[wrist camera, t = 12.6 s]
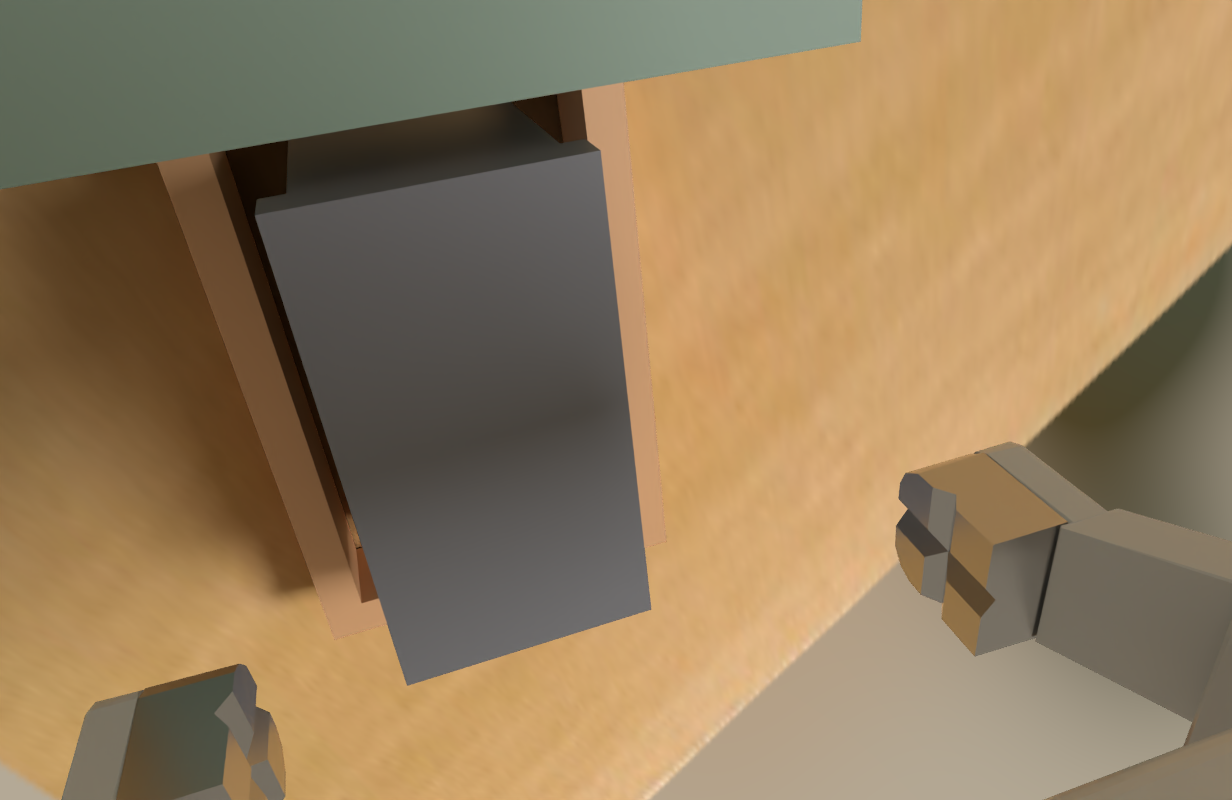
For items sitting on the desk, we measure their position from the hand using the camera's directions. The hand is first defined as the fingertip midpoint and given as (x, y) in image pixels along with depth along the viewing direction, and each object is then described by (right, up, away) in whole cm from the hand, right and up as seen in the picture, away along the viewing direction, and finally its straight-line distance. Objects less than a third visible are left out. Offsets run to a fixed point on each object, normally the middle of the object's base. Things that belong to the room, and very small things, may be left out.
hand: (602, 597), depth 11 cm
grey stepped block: (-4, +4, +9) cm, 10 cm away
